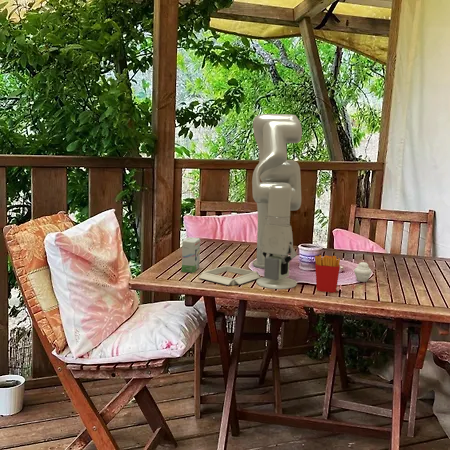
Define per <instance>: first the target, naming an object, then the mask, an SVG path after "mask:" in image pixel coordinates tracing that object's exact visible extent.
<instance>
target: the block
mask: <svg viewBox="0 0 450 450" xmlns="http://www.w3.org/2000/svg"><path fill="white" fill-rule="evenodd" d="M281 263H283V262H282V257H281V255H274V256H270V257H267V258H265V268H263V269H264V271H263V272H264V273H263V275H264V278H267V279H272V280H279V279H282V278H289V276H290V262H289V263H288V272H287V274H284V275H281Z"/></svg>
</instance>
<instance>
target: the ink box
mask: <svg viewBox="0 0 450 450" xmlns="http://www.w3.org/2000/svg"><path fill="white" fill-rule="evenodd" d="M181 245H182V248H181V249H182V250H181V253H182V254H181V273H195V272H196V271H197V270H198V269H199V268H200V257H201V256H200V255H201V238H199V237H189V236H188V237H187V238H185V239H183V240H182V243H181Z"/></svg>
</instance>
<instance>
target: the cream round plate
mask: <svg viewBox="0 0 450 450" xmlns="http://www.w3.org/2000/svg"><path fill="white" fill-rule="evenodd" d="M256 285H257V286H259V287H261V288H266V289H274V290H287V289H288V290H289V289H292V288H295V287H297V285H298V282H297V281H296V280H295V279H292V278H290V277H285V278H282V279H279V280H272V279H267V278H264V277H260V278H258V279H256Z"/></svg>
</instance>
